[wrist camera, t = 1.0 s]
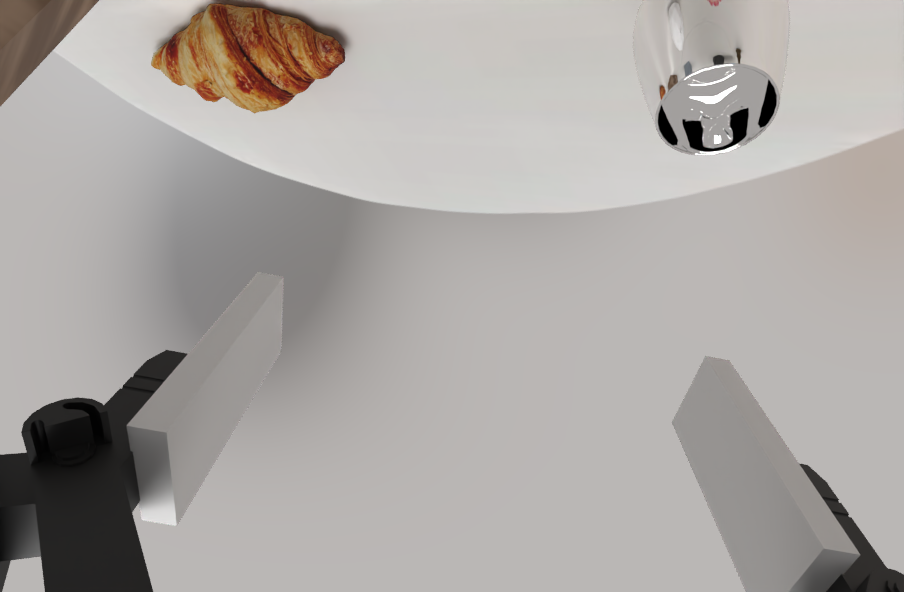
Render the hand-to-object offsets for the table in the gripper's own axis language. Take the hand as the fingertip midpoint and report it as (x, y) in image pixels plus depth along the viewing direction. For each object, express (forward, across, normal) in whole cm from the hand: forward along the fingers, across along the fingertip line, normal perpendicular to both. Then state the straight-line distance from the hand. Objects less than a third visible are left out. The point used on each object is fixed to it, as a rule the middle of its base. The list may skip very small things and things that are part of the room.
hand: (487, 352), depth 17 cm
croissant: (+42, -24, +2) cm, 49 cm away
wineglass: (+32, +11, +17) cm, 37 cm away
